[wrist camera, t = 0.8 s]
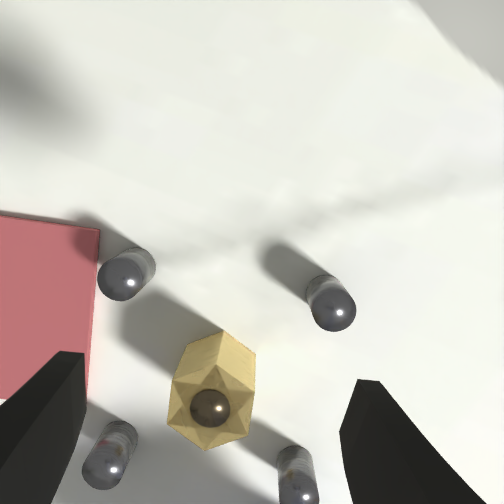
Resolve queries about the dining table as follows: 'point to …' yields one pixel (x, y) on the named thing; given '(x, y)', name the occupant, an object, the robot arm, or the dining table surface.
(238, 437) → the brass nut
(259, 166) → the dining table surface
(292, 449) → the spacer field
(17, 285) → the red mat
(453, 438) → the dining table surface
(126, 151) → the dining table surface
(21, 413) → the robot arm
